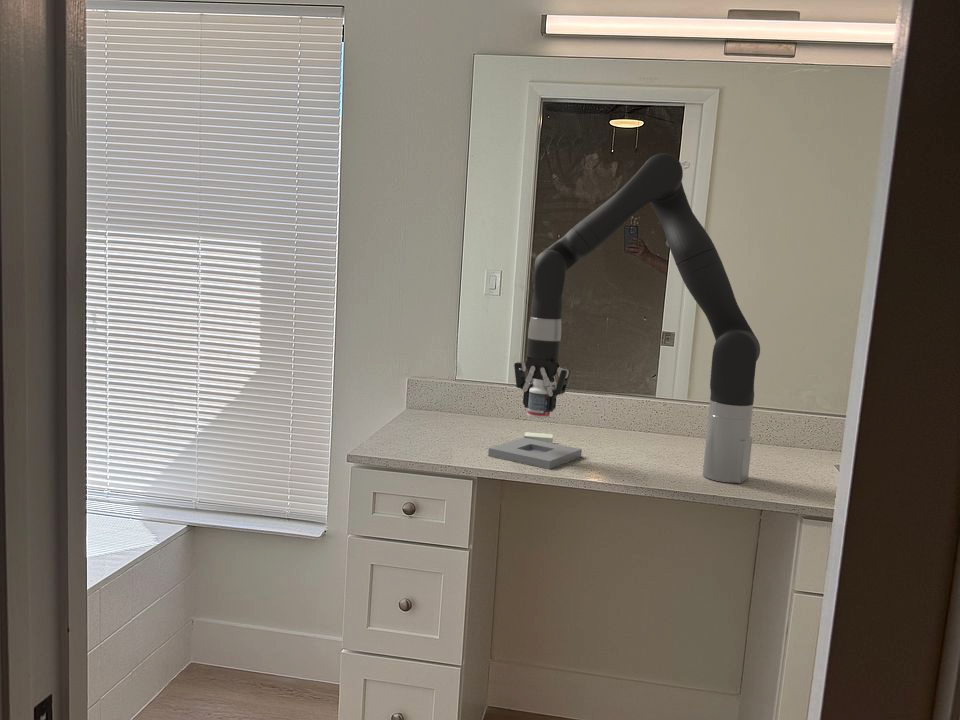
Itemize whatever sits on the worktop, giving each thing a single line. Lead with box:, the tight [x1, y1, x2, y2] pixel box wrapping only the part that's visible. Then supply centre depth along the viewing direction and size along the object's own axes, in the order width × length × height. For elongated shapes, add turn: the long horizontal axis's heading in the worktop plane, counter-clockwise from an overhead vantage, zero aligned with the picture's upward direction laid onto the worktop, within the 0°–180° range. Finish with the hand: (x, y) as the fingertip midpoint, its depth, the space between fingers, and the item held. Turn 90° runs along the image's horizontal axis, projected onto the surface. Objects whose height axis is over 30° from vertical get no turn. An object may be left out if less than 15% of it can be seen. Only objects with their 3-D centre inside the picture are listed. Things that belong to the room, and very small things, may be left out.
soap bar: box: [524, 431, 554, 443], centre depth 214 cm, size 7×4×2 cm, turn 85°
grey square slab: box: [487, 437, 583, 470], centre depth 201 cm, size 16×16×2 cm
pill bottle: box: [526, 378, 551, 419], centre depth 199 cm, size 5×5×9 cm
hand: (538, 409), depth 199 cm, fingers closed on pill bottle, 5 cm apart
